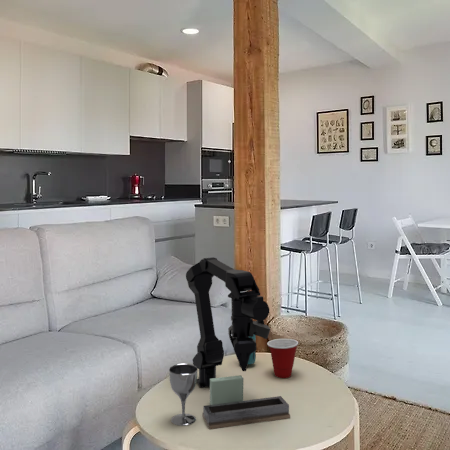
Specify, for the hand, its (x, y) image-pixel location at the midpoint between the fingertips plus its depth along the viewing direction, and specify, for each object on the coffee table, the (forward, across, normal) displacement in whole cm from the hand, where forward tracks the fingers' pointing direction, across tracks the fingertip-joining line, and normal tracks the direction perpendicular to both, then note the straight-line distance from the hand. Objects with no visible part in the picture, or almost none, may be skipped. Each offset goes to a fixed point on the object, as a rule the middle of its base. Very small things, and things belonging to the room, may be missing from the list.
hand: (242, 365), depth 151 cm
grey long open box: (+13, -6, 0) cm, 14 cm away
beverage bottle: (+12, +34, -6) cm, 36 cm away
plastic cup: (+12, +24, -17) cm, 32 cm away
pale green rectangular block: (+13, +4, +5) cm, 14 cm away
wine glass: (+13, -6, +18) cm, 23 cm away
